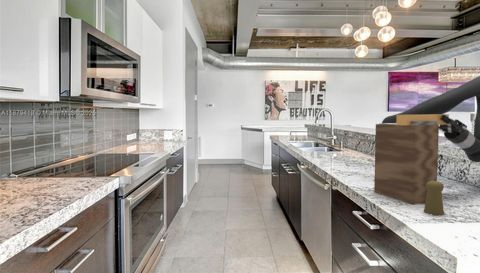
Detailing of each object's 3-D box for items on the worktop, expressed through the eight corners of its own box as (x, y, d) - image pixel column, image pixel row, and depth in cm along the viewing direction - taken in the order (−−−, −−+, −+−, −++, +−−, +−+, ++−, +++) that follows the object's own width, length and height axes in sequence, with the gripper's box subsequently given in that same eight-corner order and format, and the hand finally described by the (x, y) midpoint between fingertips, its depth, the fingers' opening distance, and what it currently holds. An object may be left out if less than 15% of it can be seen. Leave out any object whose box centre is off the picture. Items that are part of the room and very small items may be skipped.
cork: (441, 210, 110) (442, 180, 109) (446, 216, 104) (447, 183, 103) (421, 209, 112) (422, 179, 111) (425, 214, 106) (427, 182, 105)
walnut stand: (412, 204, 118) (415, 121, 115) (374, 192, 137) (375, 120, 134) (436, 201, 121) (439, 120, 119) (395, 189, 140) (397, 120, 138)
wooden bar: (405, 125, 117) (406, 114, 117) (396, 125, 121) (396, 114, 121) (448, 124, 124) (449, 114, 124) (438, 124, 128) (438, 114, 128)
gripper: (446, 127, 137) (422, 108, 132) (481, 128, 123) (455, 107, 118) (439, 142, 136) (415, 124, 131) (473, 145, 122) (447, 125, 117)
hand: (434, 116), depth 124 cm, fingers open, 6 cm apart
